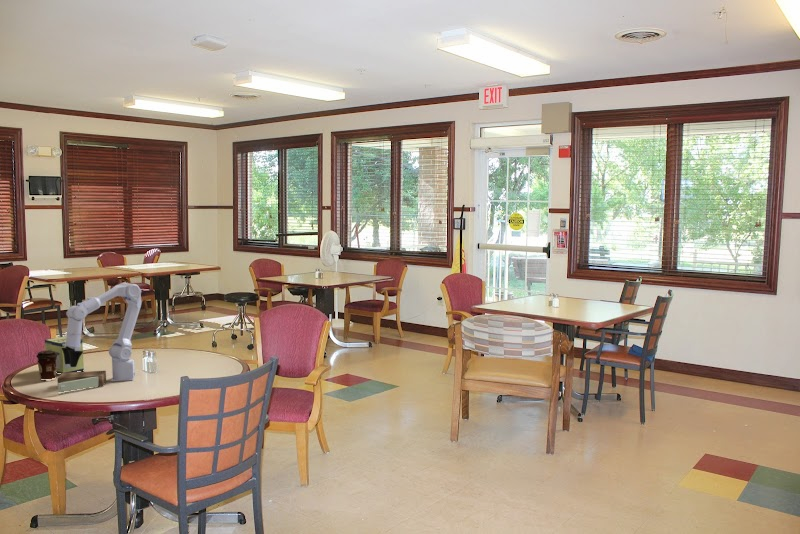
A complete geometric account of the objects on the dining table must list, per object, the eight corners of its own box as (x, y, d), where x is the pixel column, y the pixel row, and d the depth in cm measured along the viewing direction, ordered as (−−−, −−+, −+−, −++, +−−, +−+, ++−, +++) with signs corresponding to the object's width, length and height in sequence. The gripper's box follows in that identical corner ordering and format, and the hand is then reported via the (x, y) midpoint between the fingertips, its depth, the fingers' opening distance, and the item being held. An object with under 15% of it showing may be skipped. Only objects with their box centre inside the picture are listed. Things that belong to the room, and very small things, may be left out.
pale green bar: (98, 386, 294) (97, 376, 294) (100, 387, 293) (99, 377, 293) (58, 393, 283) (57, 383, 282) (59, 394, 282) (59, 384, 281)
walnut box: (106, 381, 304) (105, 370, 303) (102, 386, 295) (102, 375, 295) (62, 384, 299) (62, 373, 299) (57, 389, 291) (57, 378, 290)
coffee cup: (35, 382, 301) (33, 354, 300) (39, 378, 309) (38, 350, 308) (56, 381, 303) (55, 353, 302) (60, 376, 311) (59, 349, 310)
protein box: (66, 367, 330) (65, 335, 329) (84, 371, 322) (83, 339, 320) (45, 371, 322) (43, 339, 320) (63, 376, 313) (61, 343, 312)
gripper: (59, 331, 292) (55, 362, 292) (69, 335, 282) (65, 368, 281) (76, 332, 297) (72, 362, 297) (86, 336, 286) (83, 368, 286)
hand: (70, 365), depth 289 cm, fingers open, 7 cm apart
